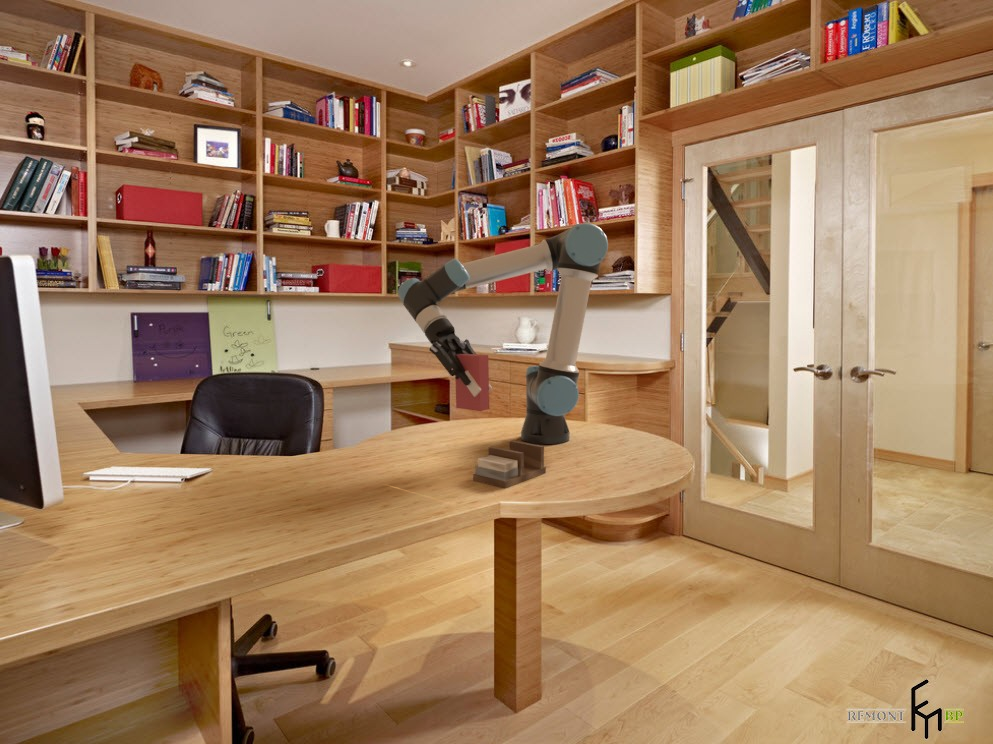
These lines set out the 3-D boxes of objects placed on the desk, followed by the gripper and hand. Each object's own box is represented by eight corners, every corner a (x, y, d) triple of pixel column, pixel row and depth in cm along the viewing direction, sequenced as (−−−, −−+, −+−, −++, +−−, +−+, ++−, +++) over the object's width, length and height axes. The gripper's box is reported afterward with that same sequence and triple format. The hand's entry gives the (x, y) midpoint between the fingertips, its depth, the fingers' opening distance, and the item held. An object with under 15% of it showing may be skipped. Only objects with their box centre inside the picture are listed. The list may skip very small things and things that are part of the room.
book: (465, 405, 165) (463, 353, 164) (489, 409, 160) (488, 355, 158) (456, 407, 163) (454, 354, 161) (480, 411, 157) (479, 356, 156)
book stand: (514, 466, 162) (514, 439, 161) (545, 472, 155) (545, 445, 154) (473, 480, 149) (472, 451, 149) (505, 488, 143) (504, 458, 142)
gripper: (450, 334, 175) (496, 397, 167) (406, 337, 163) (453, 406, 154) (463, 315, 171) (511, 379, 163) (419, 317, 159) (468, 386, 150)
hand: (483, 392), depth 158 cm, fingers closed on book, 3 cm apart
